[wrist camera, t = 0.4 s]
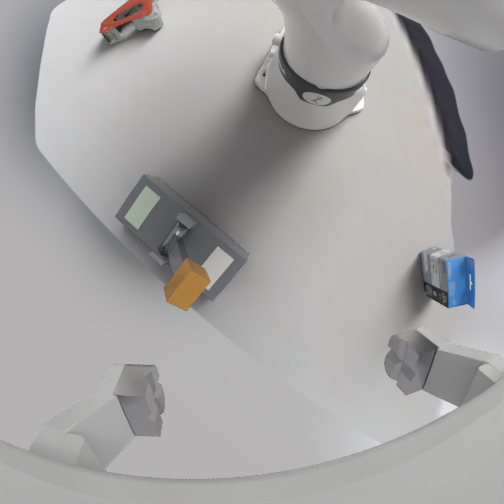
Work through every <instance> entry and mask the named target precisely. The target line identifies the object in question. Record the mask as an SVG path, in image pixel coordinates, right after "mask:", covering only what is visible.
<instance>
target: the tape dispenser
mask: <svg viewBox="0 0 504 504" xmlns="http://www.w3.org/2000/svg"><path fill="white" fill-rule="evenodd" d="M157 2H158V0H129V1H127V2H126V3H125V4H123V5H122V6H121V7H120V8H118V9H117V10H116V11H115V12H113V13H112V14H111V15H110V16H108V17H107V18H106V19H105V20H104V21H103V22H102V23H101V28H100V33H102V35H103V36H104V38H106V40H107V41H108V42H109V45H112V44H115V43H119V42H121V41H122V40H123V39H124V37H123V35H122V30H121V27H120V25H122V24H124V23H126V22H129V21H132V22H133V24H134V25H135V27H136V28H137V29H138V30H139V31H141V30H143V29H147V28H148V29H152V30H154V31H155V30H157V29H159V28H160V27H161V26H162V25H163V22H162V20H161V18H160V17H161V12H160V9H159V7H158V5H157Z"/></svg>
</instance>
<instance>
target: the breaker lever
mask: <svg viewBox="0 0 504 504" xmlns="http://www.w3.org/2000/svg"><path fill="white" fill-rule="evenodd" d="M189 230H190V229H188V228H187V227H186V226H185V225H183V224H182V223H181V222H180V221H178V222H177V223H176V225H175V226H174V227H173V229H172V230H171V231H170V233H169V234H168V235H167V237H166V238H165V239H164V241H163V242H162V243H161V245H160V246H159V248H158V249H159V251H160V252H161V253H162V254H163V255H165V256H168V257H169V260H170V265H171V269H172V274H173V276H172V278H171V279H170V280H169V282H168V283H167V284H166V286H165V287H164V290H165V295H166V300H167V302H169V303H170V304H172V305H174V306H177V307H179V308H181V309H183V310H185V311H187V310H188V309H189V308H190V306H191V305H192V304H193V303H194V302H195V300H196V299H197V298H198V297H199V296H200V294H201V293H202V292H203V291H204V290H205V288H206V287H207V286H208V285H209V284H210V282H211V281H210V278H209V276H208V274H207V271H206V269H205V268H203V267H202V266H200V265H198V264H196V263H195V262H193V261H191V260H190V259H189V256H188V253H187V250H186V247H185V244H184V241H183V237H184V236H185V235H186V233H187V232H188V231H189Z"/></svg>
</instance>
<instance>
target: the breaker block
mask: <svg viewBox="0 0 504 504" xmlns="http://www.w3.org/2000/svg"><path fill="white" fill-rule="evenodd" d="M115 217H116V218H117V219H118V220H119V221H120V222H122V223H123V224H124V225H125V226H126V227H127V228H128V229H129V230H130V231H131V232H132V233H133V234H135V235H136V236H137V237H138V238H139V239H140V240H141V241H142V242H143V243H144V244H146V245H147V246H148V247H149V248H150V249H151V250H152V251H151V252H150V254H149V256H150V257H151V258H152V259H154V260H155V261H156V262H157V263H158V264H159V265H160V266H162V265H164V264H165V263H167V264H168V265H170V260H169V257H168V256H165V255H163V254H162V253H161V252H160V251H159V249H158V248H159V246H160V245H161V243H162V242H163V241H164V239H165V238H166V237H167V235H168V234H169V233H170V231H171V230H172V229H173V227H174V226H175V225H176V223H177V222H178V221H180V222H181V223H182V224H183V225H185V226H186V227H187V228H188V229H190V230H189V231H188V232H187V233H186V235H185V236H184V237H183V241H184V244H185V247H186V250H187V253H188V256H189V259H190V260H191V261H193V262H195V263H196V264H198V265H200V266H202V267H203V268H205V269H206V271H207V274H208V276H209V278H210V281H211V282H210V284H209V285H208V286H207V287H206V288H205V290H204V291H203V292H202V293H203V294H204V295H205V296H207V297H208V298H209V299H210V300H212V301H213V300H214V299H215V297H216V296H217V295H218V294H219V293H220V292H221V291H222V289H223V288H224V287H225V286H226V285H227V284H228V282H229V281H230V280H231V279H232V278H233V277H234V275H235V274H236V273H237V272H238V271H239V270H240V268H241V267H242V266H243V265H244V264H245V263H246V261H247V258H248V255H249V253H247V252H246V251H245V250H244V249H243V248H241V247H240V246H239V245H238V244H237V243H235V242H234V241H233V240H232V239H231V238H229V237H228V236H227V235H226V234H225V233H223V232H222V231H221V230H220V229H219V228H217V227H216V226H215V225H214V224H213V223H212V222H210V221H209V220H208V219H207V218H206V217H204V216H203V215H202V214H201V213H200V212H198V211H197V210H196V209H195V208H194V207H192V206H191V205H190V204H189V203H188V202H186V201H185V200H184V199H183V198H182V197H180V196H179V195H178V194H177V193H176V192H175V191H173V190H172V189H171V188H170V187H169V186H167V185H166V184H165V183H164V182H163V181H161V180H160V179H159V178H158V177H153V176H149V175H143V176H142V178H141V179H140V180H139V182H138V183H137V185H136V186H135V187H134V189H133V190H132V192H131V193H130V195H129V196H128V198H127V199H126V201H125V202H124V204H123V205H122V207H121V208H120V210H119V211H118V213H117V214H116V216H115ZM170 266H171V265H170Z"/></svg>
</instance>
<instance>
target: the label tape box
mask: <svg viewBox="0 0 504 504" xmlns="http://www.w3.org/2000/svg"><path fill="white" fill-rule="evenodd" d="M420 254H421V261H422V269H423V278H424V288H425V295H426V296H428V297H430V298H432V299H433V300H435V301H437V302H438V303H440V304H442V305H443V306H445V307H447V308H452V307H457V306H461V305H465V304H468V305H470V306H471V307H472V308H473V309H474V308H475V262H474V259H473V258H470V257H467V256H465V255H462V254H459V253H455V252H452V251H448V250H444V249H441V248H437V247H433V248H430V249H428V250H425V251H422V252H421V253H420ZM469 274H471V281H472V285H471V291H470V280H469Z"/></svg>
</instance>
